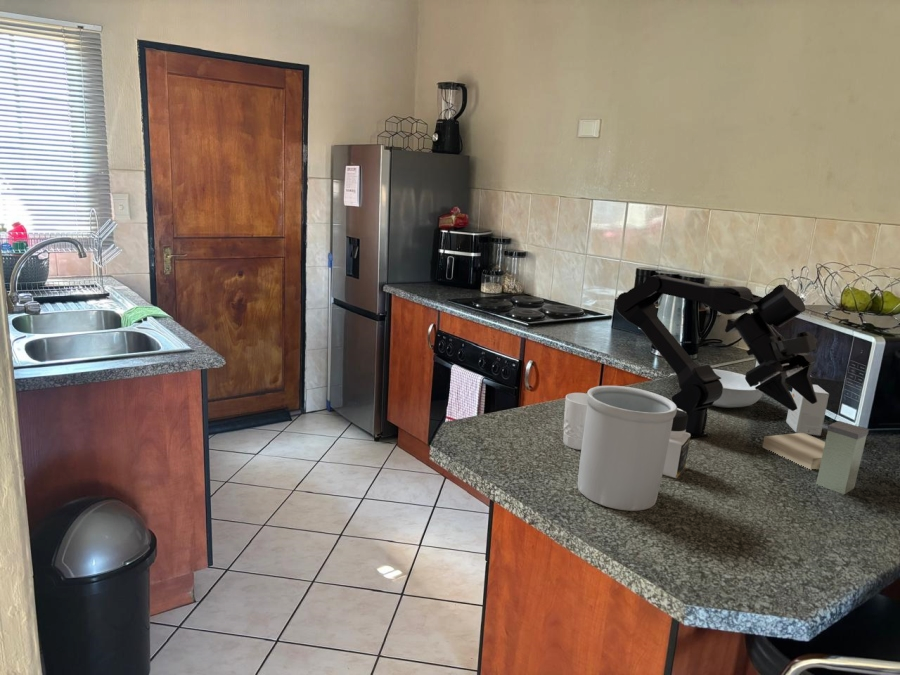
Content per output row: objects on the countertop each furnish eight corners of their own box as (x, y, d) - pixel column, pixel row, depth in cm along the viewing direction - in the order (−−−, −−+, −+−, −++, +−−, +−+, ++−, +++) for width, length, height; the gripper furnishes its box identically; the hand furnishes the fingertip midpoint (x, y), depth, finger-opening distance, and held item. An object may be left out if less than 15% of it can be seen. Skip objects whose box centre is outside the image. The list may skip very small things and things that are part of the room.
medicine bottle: (676, 479, 123) (687, 418, 120) (639, 468, 126) (648, 409, 124) (685, 467, 129) (695, 409, 126) (649, 457, 132) (658, 400, 130)
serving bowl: (775, 408, 173) (780, 383, 172) (737, 421, 160) (742, 394, 158) (702, 386, 188) (706, 363, 187) (662, 396, 175) (666, 372, 174)
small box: (820, 436, 153) (830, 393, 151) (795, 433, 154) (804, 390, 152) (809, 425, 161) (818, 384, 159) (785, 422, 162) (793, 381, 160)
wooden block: (809, 472, 133) (812, 458, 132) (761, 449, 143) (764, 436, 143) (850, 466, 137) (853, 453, 137) (800, 445, 148) (803, 432, 147)
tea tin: (844, 494, 122) (858, 434, 119) (815, 484, 126) (828, 425, 123) (854, 488, 125) (868, 429, 123) (826, 478, 129) (839, 420, 126)
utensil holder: (620, 470, 125) (633, 382, 121) (679, 505, 112) (696, 408, 108) (558, 480, 118) (569, 387, 114) (613, 519, 105) (628, 416, 101)
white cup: (605, 446, 136) (612, 400, 134) (585, 455, 131) (591, 407, 128) (573, 434, 142) (579, 390, 139) (552, 442, 136) (558, 396, 134)
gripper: (772, 320, 123) (822, 393, 117) (814, 314, 135) (861, 380, 129) (725, 351, 130) (770, 421, 125) (768, 343, 142) (811, 406, 136)
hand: (805, 406), depth 128 cm, fingers open, 9 cm apart
